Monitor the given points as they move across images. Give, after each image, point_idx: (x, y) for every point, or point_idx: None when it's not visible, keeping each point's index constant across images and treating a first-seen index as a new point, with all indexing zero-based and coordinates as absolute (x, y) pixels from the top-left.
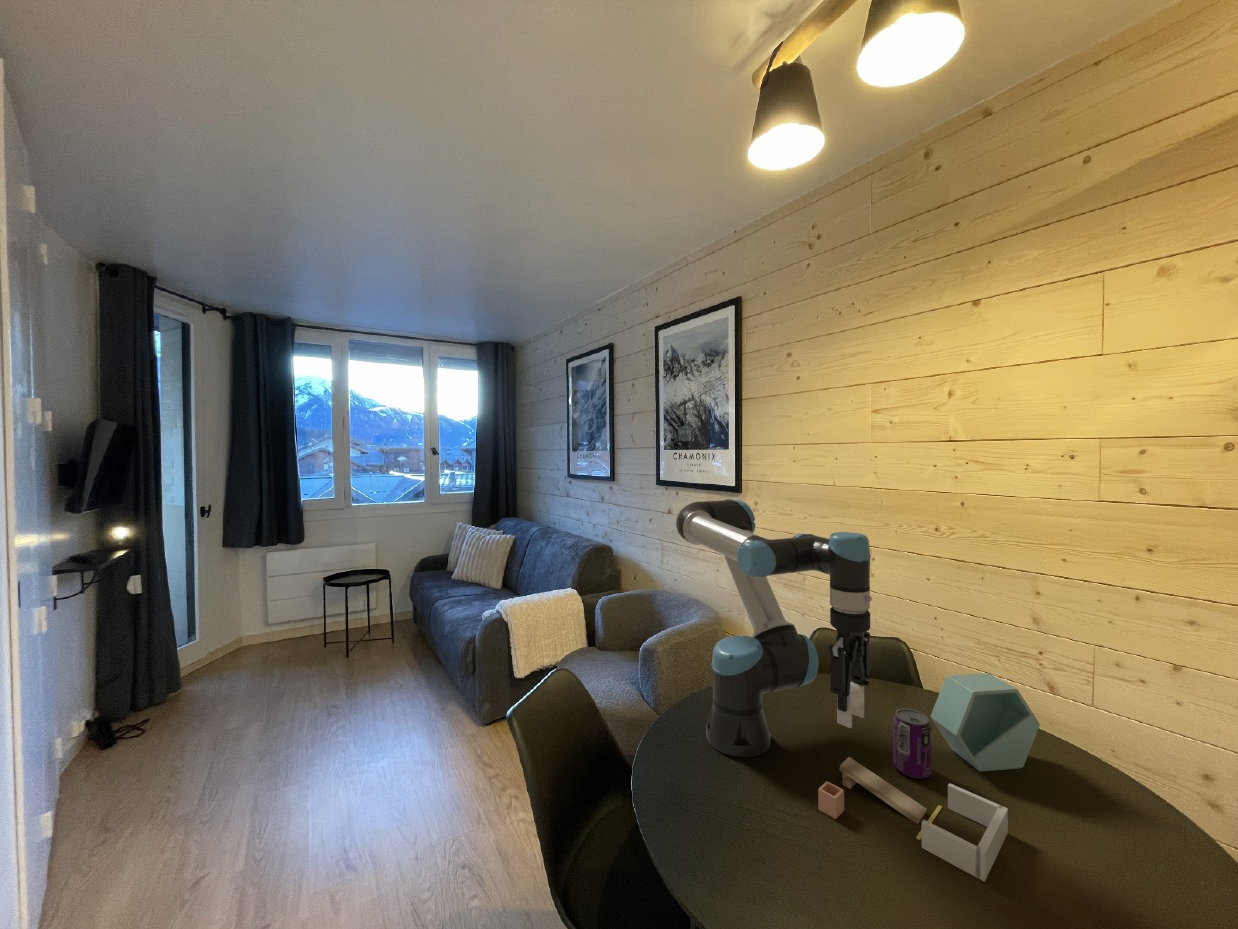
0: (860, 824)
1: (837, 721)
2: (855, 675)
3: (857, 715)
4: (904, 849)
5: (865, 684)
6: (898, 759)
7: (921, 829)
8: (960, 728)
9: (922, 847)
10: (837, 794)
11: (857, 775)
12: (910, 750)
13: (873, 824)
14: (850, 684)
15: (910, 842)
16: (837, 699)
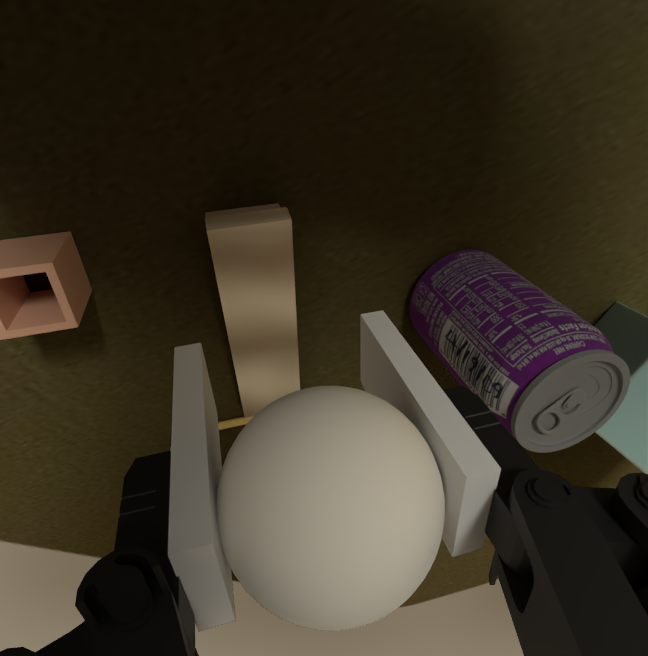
0: (91, 345)
1: (174, 356)
2: (532, 598)
3: (362, 358)
4: (125, 436)
5: (490, 577)
6: (431, 303)
7: (227, 422)
8: (611, 445)
9: (170, 449)
10: (27, 331)
11: (225, 286)
12: (450, 365)
13: (130, 361)
14: (343, 622)
15: (162, 429)
16: (115, 544)
